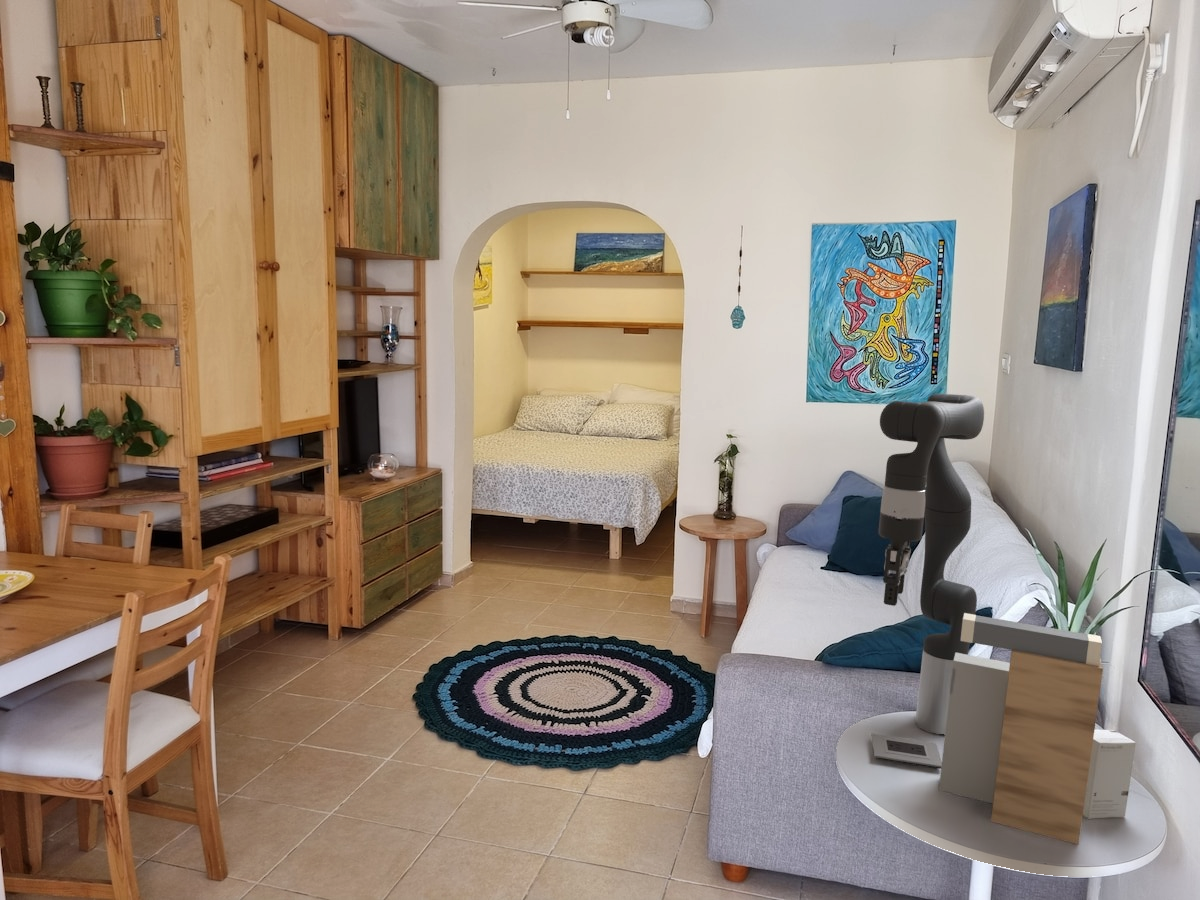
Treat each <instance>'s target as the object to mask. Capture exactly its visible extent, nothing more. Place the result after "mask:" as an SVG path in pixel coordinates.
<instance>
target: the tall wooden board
mask: <svg viewBox="0 0 1200 900" xmlns="http://www.w3.org/2000/svg"><path fill="white" fill-rule="evenodd" d="M1010 653H1011V654H1010V658H1009V659H1010V660H1009V663H1010V667H1009V675H1008V683H1007V691H1006V699H1005V707H1004V715H1003V723H1002V732H1001V740H1000V748H999V756H998V764H997V772H996V780H995V788H994V797H993V804H992V806H991V819H990V822H993V823H996V824H1000V825H1003V826H1007V827H1012V828H1015V829H1019V830H1022V831H1027V832H1030V833H1034V834H1038V835H1042V836H1045V837H1050V838H1052V839H1056V840H1060V841H1064V842H1068V843H1072V844H1075V845H1079V844H1080V836H1081V832H1082V831H1081V830H1082V823H1083V817H1084V816H1083V809H1084V802H1085V795H1086V788H1087V780H1088V773H1089V766H1090V759H1091V751H1092V744H1093V737H1094V730H1095V727H1096V721H1097V714H1098V708H1099V706H1098V705H1099V700H1100V694H1101V693H1100V692H1101V685H1102V679H1103V673H1104V667H1103V663H1102V659H1101V657H1100V664H1099V666H1095V665H1090V664H1086V663H1081V662H1076V661H1070V660H1065V659H1059V658H1054V657H1048V656H1043V655H1037V654H1032V653H1026V652H1021V651H1015V650H1011V651H1010Z"/></svg>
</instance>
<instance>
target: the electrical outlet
mask: <svg viewBox="0 0 1200 900" xmlns="http://www.w3.org/2000/svg"><path fill="white" fill-rule="evenodd" d="M870 736H871V743H872V750H873V757H874V758H875V759H876V760H881V761H887V762H894V763H900V764H904V765H905V764H907V765H912V766H917V767H924V768H929V769H938V770H939V769H940V770H941V766H942V757H941V754H940V751H939V748H938V745H937V743H936V742H932V741H924V740H918V739H912V738H905V737H899V736H894V735H893V736H892V735H887V734H880V733H872V732H871V735H870Z"/></svg>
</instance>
